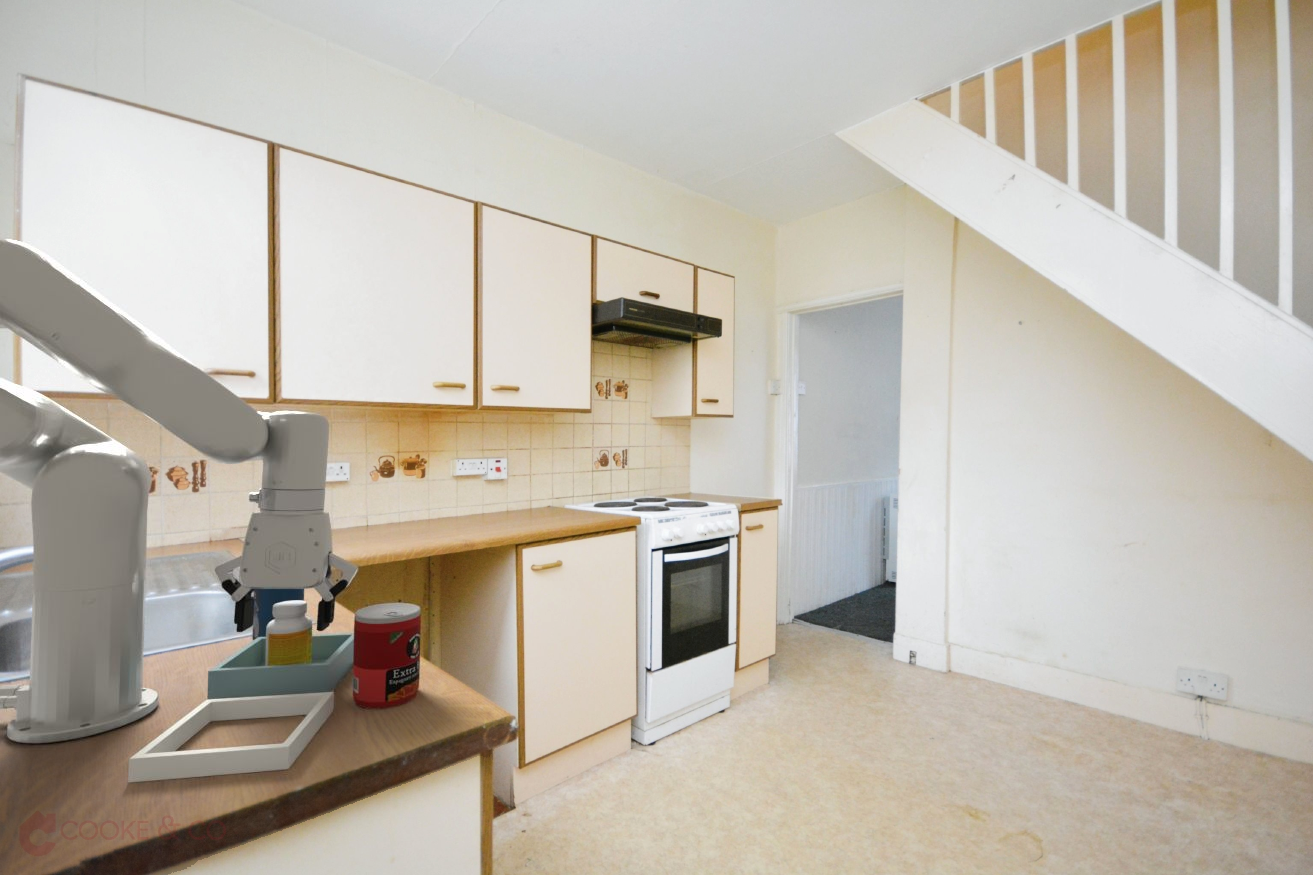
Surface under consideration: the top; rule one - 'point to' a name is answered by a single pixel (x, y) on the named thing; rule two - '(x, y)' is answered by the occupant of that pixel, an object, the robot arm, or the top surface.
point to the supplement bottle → (289, 635)
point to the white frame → (168, 764)
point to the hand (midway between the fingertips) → (284, 628)
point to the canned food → (386, 654)
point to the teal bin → (282, 670)
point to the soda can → (270, 606)
